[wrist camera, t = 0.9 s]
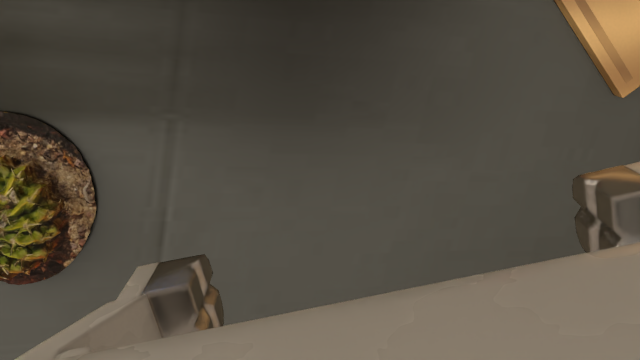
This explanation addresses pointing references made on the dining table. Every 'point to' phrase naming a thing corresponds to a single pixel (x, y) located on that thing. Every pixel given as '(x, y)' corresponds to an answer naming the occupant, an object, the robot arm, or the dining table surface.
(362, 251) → the dining table surface
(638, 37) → the cutting board
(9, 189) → the cactus
